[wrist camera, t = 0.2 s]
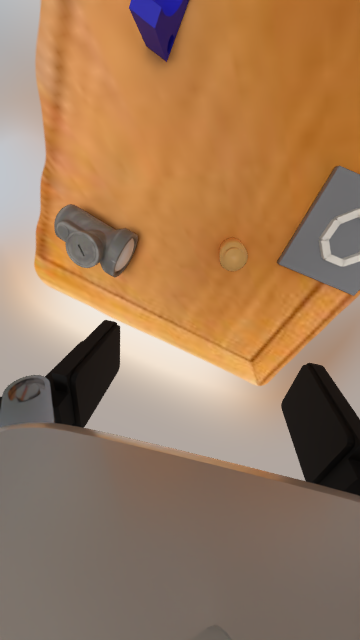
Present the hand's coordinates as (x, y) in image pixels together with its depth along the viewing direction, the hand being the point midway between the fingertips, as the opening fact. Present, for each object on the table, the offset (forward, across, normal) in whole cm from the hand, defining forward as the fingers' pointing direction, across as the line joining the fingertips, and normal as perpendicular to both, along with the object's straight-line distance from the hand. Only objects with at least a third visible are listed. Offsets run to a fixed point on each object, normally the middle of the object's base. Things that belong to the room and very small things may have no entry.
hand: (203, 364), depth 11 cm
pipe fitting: (+30, +19, 0) cm, 36 cm away
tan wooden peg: (+30, -3, -1) cm, 30 cm away
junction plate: (+30, -19, -6) cm, 36 cm away
